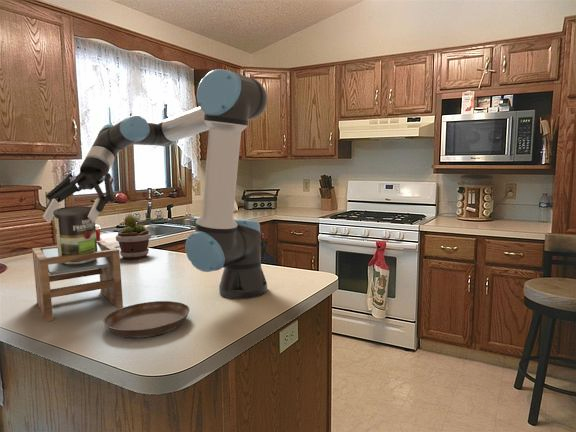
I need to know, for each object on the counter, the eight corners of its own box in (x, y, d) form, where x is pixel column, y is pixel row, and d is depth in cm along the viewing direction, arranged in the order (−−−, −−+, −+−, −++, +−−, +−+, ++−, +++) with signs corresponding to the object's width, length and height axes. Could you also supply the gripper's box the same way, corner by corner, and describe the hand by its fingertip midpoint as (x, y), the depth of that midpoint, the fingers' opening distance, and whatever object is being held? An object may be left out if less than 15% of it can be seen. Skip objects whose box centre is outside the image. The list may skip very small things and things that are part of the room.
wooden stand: (122, 305, 121) (119, 249, 119) (45, 321, 109) (39, 260, 107) (106, 290, 136) (103, 240, 134) (37, 302, 125) (32, 248, 123)
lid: (109, 266, 120) (109, 263, 120) (49, 275, 112) (49, 272, 111) (97, 245, 131) (96, 242, 131) (42, 252, 123) (42, 249, 122)
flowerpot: (157, 257, 184) (154, 212, 181) (120, 262, 175) (117, 215, 173) (147, 252, 196) (145, 209, 193) (113, 256, 187) (110, 212, 185)
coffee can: (106, 256, 121) (102, 209, 118) (73, 267, 113) (68, 217, 109) (83, 249, 126) (79, 203, 122) (50, 259, 118) (44, 210, 114)
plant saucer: (86, 332, 103) (85, 319, 102) (153, 307, 120) (152, 295, 120) (142, 350, 92) (141, 335, 91) (206, 320, 109) (206, 307, 109)
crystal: (101, 243, 201) (146, 236, 219) (94, 234, 204) (139, 228, 222) (98, 255, 204) (143, 247, 222) (92, 246, 207) (136, 239, 226)
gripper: (139, 172, 129) (116, 227, 116) (66, 173, 133) (36, 227, 120) (129, 155, 123) (103, 211, 110) (53, 156, 127) (20, 211, 114)
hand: (68, 219), depth 115 cm, fingers open, 13 cm apart
